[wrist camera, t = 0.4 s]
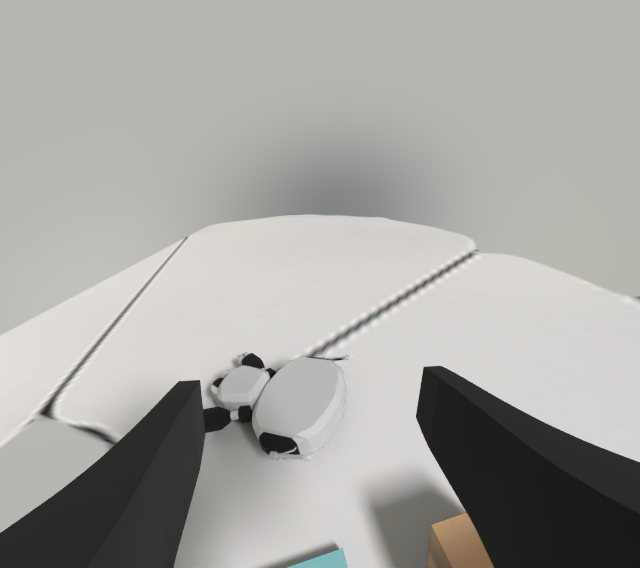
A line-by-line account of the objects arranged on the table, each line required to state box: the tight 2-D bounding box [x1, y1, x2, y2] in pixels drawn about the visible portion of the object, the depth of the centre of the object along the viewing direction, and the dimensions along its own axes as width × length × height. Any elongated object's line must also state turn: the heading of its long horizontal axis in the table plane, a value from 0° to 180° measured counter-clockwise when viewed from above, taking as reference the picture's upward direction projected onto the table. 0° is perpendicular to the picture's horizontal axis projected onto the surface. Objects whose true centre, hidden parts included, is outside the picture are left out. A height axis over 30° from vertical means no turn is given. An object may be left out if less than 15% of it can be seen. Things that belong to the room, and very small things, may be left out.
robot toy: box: [203, 352, 353, 461], centre depth 34 cm, size 12×4×15 cm
